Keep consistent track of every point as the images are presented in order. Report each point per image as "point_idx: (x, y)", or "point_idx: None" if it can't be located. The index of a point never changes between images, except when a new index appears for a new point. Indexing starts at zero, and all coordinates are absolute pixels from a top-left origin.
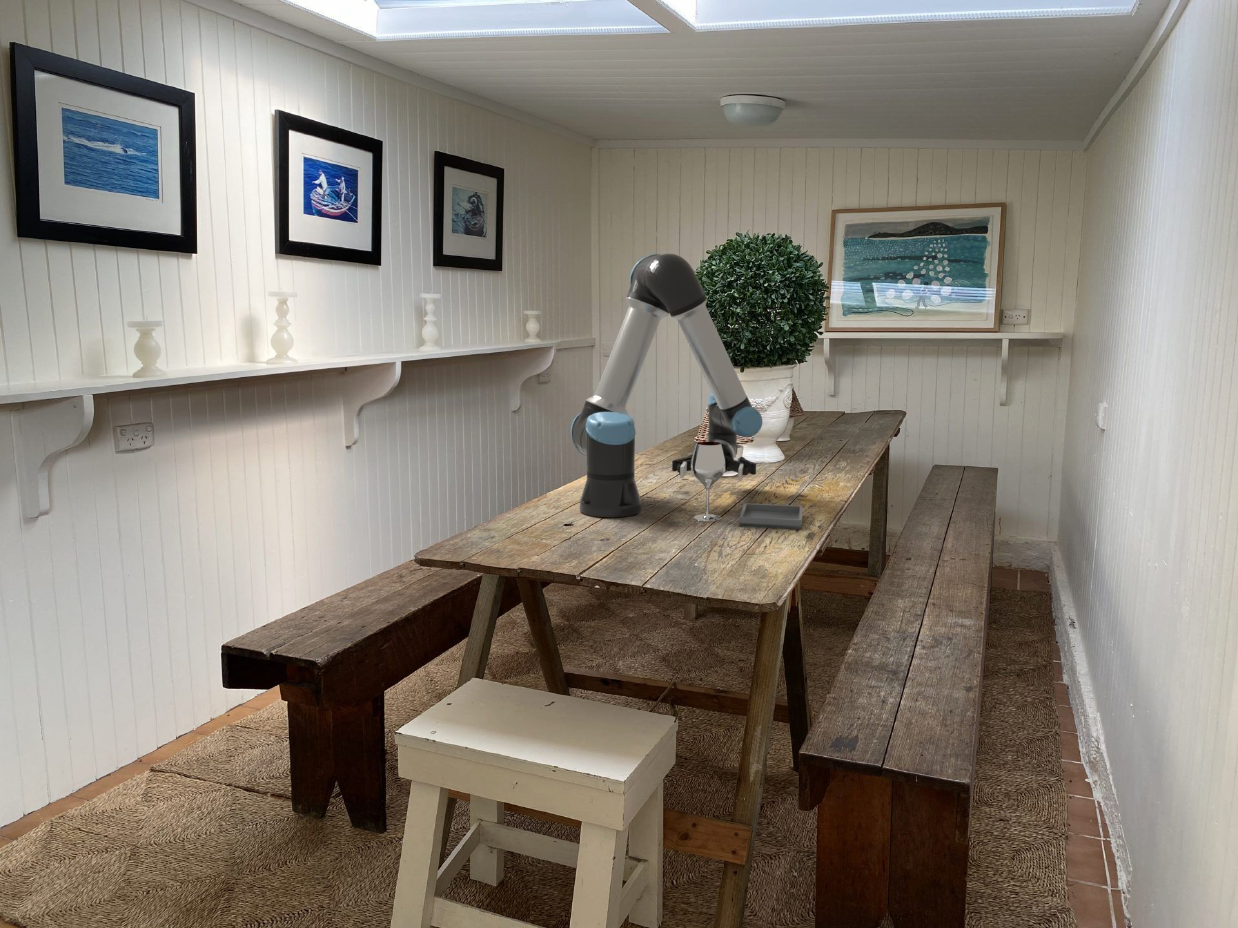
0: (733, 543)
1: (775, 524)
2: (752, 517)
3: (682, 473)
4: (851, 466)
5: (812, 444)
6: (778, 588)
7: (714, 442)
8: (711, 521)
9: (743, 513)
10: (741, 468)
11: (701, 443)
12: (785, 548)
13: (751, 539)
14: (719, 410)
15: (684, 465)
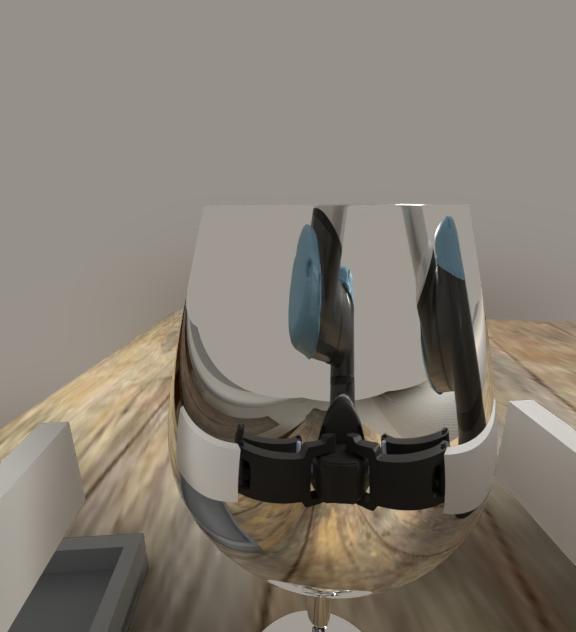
0: None
1: None
2: (80, 541)
3: (506, 445)
4: None
5: None
6: (163, 321)
7: (292, 216)
8: (278, 623)
9: (98, 612)
10: (23, 443)
11: (459, 230)
12: (82, 408)
13: (144, 443)
14: None
15: (566, 447)
